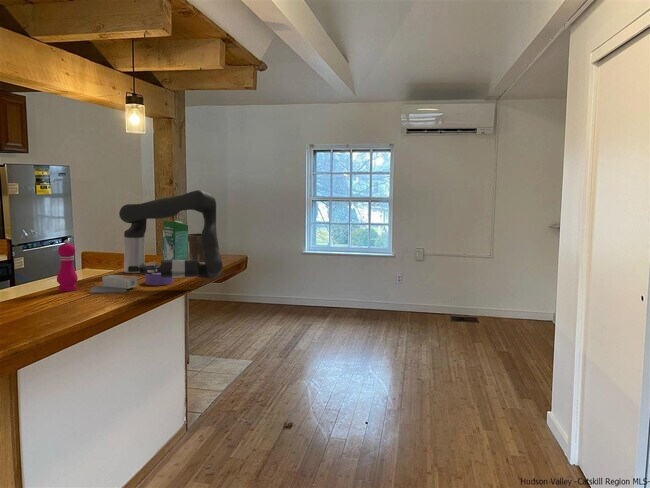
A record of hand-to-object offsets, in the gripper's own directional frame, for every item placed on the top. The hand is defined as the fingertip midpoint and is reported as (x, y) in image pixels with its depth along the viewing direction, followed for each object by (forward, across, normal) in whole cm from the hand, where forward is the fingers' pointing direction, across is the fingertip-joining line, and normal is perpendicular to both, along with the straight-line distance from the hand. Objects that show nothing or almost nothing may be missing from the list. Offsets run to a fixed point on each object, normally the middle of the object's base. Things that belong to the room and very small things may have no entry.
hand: (128, 268), depth 190 cm
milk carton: (-18, -54, +9) cm, 57 cm away
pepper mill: (+22, -1, +9) cm, 24 cm away
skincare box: (-2, -1, +6) cm, 6 cm away
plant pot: (-32, -71, +9) cm, 78 cm away
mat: (+7, 0, +8) cm, 11 cm away
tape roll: (-11, -14, +9) cm, 20 cm away
